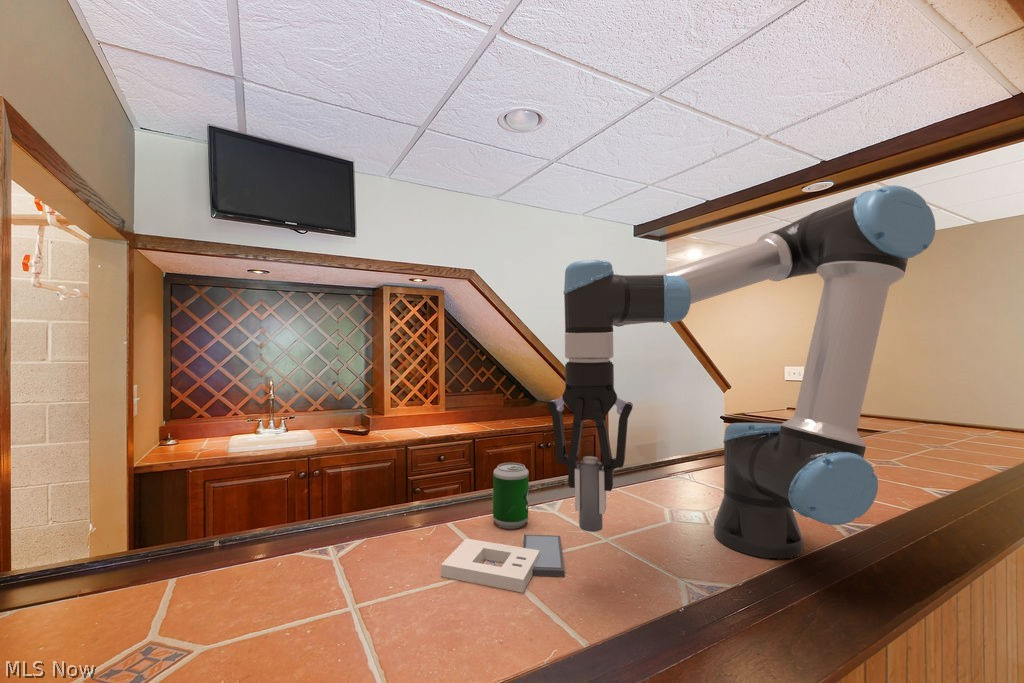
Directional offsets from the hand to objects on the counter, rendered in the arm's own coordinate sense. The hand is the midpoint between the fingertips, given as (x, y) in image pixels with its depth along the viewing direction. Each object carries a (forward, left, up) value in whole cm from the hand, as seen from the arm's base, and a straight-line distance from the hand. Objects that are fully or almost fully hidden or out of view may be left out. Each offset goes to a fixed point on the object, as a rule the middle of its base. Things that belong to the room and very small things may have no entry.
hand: (590, 508), depth 69 cm
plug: (0, 0, -3) cm, 3 cm away
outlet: (+16, 0, -12) cm, 20 cm away
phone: (+9, -7, -12) cm, 17 cm away
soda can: (+19, -19, -12) cm, 30 cm away
